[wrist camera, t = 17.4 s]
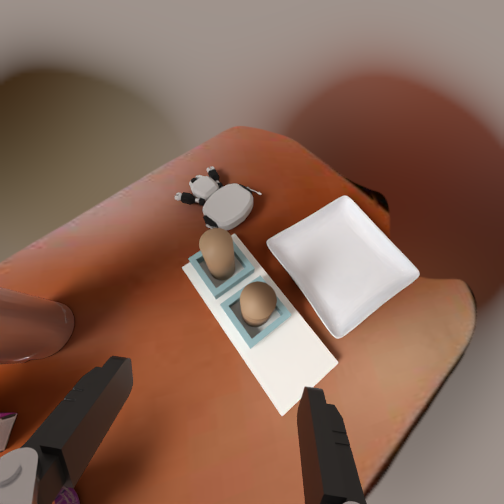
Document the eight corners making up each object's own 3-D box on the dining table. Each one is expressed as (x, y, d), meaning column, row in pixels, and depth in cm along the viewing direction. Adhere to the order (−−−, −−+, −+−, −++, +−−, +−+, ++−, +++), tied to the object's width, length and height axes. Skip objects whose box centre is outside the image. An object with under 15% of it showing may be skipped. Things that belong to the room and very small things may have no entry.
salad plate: (412, 278, 46) (425, 273, 43) (330, 342, 41) (338, 341, 38) (340, 201, 52) (346, 192, 49) (262, 248, 47) (263, 241, 44)
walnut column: (253, 333, 39) (255, 326, 29) (235, 310, 41) (232, 296, 30) (275, 314, 40) (284, 302, 30) (257, 293, 42) (260, 274, 32)
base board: (280, 413, 36) (297, 443, 25) (183, 270, 45) (162, 242, 33) (335, 362, 39) (373, 367, 28) (235, 236, 48) (232, 200, 36)
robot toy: (174, 206, 51) (224, 245, 47) (167, 192, 47) (221, 234, 43) (214, 173, 55) (263, 206, 51) (210, 157, 51) (264, 192, 47)
